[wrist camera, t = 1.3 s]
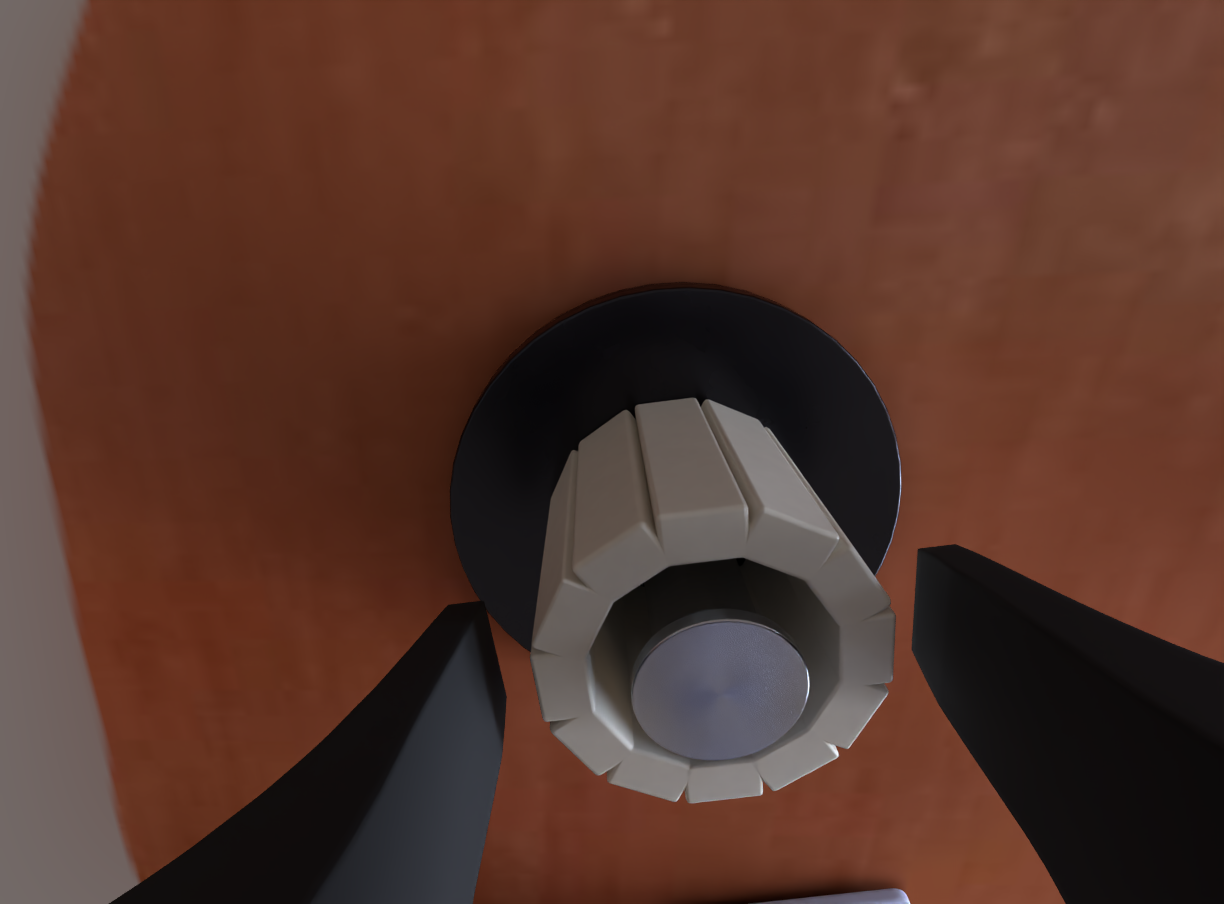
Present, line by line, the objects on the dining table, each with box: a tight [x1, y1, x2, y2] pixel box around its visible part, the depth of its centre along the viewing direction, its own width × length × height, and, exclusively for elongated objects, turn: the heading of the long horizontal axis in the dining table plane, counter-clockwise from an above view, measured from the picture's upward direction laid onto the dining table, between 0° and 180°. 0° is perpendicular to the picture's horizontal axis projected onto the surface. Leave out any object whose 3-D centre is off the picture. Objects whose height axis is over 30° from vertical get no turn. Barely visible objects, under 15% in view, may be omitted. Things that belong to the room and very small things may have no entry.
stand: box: [450, 282, 901, 761], centre depth 13 cm, size 10×10×6 cm
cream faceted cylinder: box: [530, 398, 896, 803], centre depth 12 cm, size 6×6×5 cm
